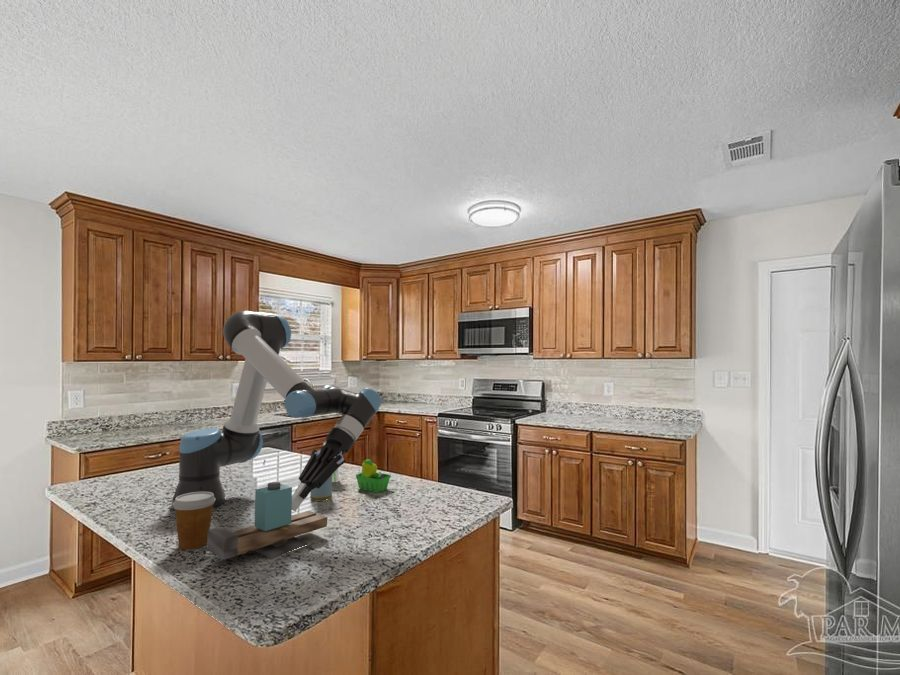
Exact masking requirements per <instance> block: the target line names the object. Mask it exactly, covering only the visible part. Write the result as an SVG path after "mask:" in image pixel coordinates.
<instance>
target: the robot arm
mask: <svg viewBox="0 0 900 675" xmlns="http://www.w3.org/2000/svg"><path fill="white" fill-rule="evenodd" d="M222 329H223V330H222V333H223V338H224V341H225V343H226V344H227V345H228V347H229V348H230V349H231V350H232V351H233V352H234V353H235V354H236V355H242V356H243V358H244V363H243V367H242V372H241V373H240V374H241V375H240V378H239V381H238V382H239V383H238V387H237V391H236V394H235V399H234V402H233V406H232V411H231V415H230V418H229V419H227V420H226V421H224V422H223V426H222V430H221V429H220V428H204V429H202V428H201V429H197V430H193V431H189V432H187V433H185V434H184V435H182V436H181V438H180V442H179V449H178V450H179V451H178V452H179V468H178V483H177V486H176V489H175V491H174V494H173V497H172V500H171V509H172V510H174V511H175V508H174V506H173V503H174V502H175V498H176V497H178V496H180V495H183V494H187V493H192V492H211V493H213V494H214V497H215V498H216V500H215V502H214V504H213V508H216V507H218V506H221V505H223V504H224V503H225V501H226V499H225V498H226V495H225V494H226V493H225V491H224V488H223V485H222V481H221V478H220V477H221V476H220V475H221V474H220V473H221V472H220V470H221V468H222V467H226V466H227V467H228V466H231V465H236V464H239V463H240V464H242V463H247V462H248V461H251V460H254V459H255V458H256V457H258V456H259V455H260V452H261V450H262V448H263V446H264V445H263V444H264V438H262V437H263V434H262V432H261V430H260V426H259V425H258V423H257V421H258V417H259V413H260V410H261V406H262V402H263V398H264V394H265V391H266V387H267V382H268V384H270V386H272V388H273V389H274V390H275V391H276V392H277V393H278V394H279V395H280V396H281V397H282V398H283V399H284V408H285V409H286V413H287V415H288V416H290V417H291V418H294V419H307V418H310V417H311V418H312V417H317V416H323V415H331V414H338V415H340V418H339V419H338V420H337V421H336V423H335V424H334V427H332V429H331V430H330V431H329V433H328V434H327V435H326V438H325V440H326V441H325V442H326V444H325V445H324V444H323V445H322V447H321V448H320V449H318V450H316V449H313V450H312V451H311V454H310V457H309V459H308V461H307V463H306V464H305V466H304V468H303V470H302V472H301V473H300V475H299V476H298V480H299V481H300V484H299V485H298V487H297V488H296V489H295V491H294V492H293V493H292V511H293V512H296V511H297V510H298V509H299V507H300V506H301V505H302V503H303V502H304V500H305V499H307V497H308V496H309V495H310V492H311V490H312V489H314V488H320V487H321V486H322V485H323V484H324V483H325V482H326V481H327V479H328V478H329V477H330V476H331V475H332V474H333V473H334V472H335V471H336V470H337V469H338V468H339V469H340V467H341V466H342V465H344V464H346V462H347V461H346V459H345V458H344V457H343V456H344V454H347V453H349V452H350V450H351V449H352V447H353V446H354V444H355V441H356V442H357V440H358V438H359V437H360V435H361V434H362V432H363V431H364V430H365V429H366V427H367V425H368V424H369V423H370V422H371V420H372V419H373V418H374V416H375V415H376V414H377V412H378V411H379V409H380V407H381V406H382V403H383V399H382V397H381V395H380V394H379V393H378V392H377V391H376V390H374V389H373V388H370V387H363V388H362V389H361V390H360V391H359V392H358V393H357V392H354V391H353V392H352V391H350V390H346V389H343V388H341V387H339V386H337V385H330V384H327V385H324V386H323V387H321V388H320V389H319V388H318V389H314V388H313V387H311V385H309V384H308V383H307V382H306V381H305V380H304V379H303V378H302V377H301V376H300V375H299V374H298V373H297V372H296V371H295V370H294V369H293V368H292V367H291V365H289V364H288V363H287V361H285V360H284V359H283V358H282V357H281V355H280V352H281V349H283V348H286V346H288V345H289V343H290V341H291V338H292V329H291V326H290V324H289V321H288V320H287V319H286V317H285V316H282V315H279V314H275V313H273V312H272V313H271V312H269V313H268V312H260V311H250V310H240V311H237V312H235V313H232V314H231V315H230V316H229V317H227V319H226V321H225V322H224V325H223V327H222Z"/></svg>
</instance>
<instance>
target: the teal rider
mask: <svg viewBox="0 0 900 675" xmlns="http://www.w3.org/2000/svg"><path fill="white" fill-rule="evenodd" d="M254 495H255V496H254V497H255V499H254V501H255V502H254V505H255V506H254V526H255V527H257V528H259V529H261V530H263V531H268V530H271V529H275V528H278V527H281V526H285V525H288V524H291V515H292V514H293V513H292V511H293V510H292V495H293V487H292V486H289V485H286V484H283V483H281V482H280V481H273V482H267V486H265V487H261V488H256V489H255V493H254Z"/></svg>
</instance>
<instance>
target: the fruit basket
mask: <svg viewBox="0 0 900 675" xmlns="http://www.w3.org/2000/svg"><path fill="white" fill-rule="evenodd" d="M361 466H362V467H361V468H362V469H361V472H360V473H357V474H355V479H356V481H357V485H358V489H359V488H360V490H364V491H368V492H373V491H374V493H379V492H382V491H383V492H384V491H385V490H387V489H388V486H389V482H390V479H391V477H392V475H391V474H389V473H388V474H386V473H381V471H379V472H377V469H378V466H377V464H376V463H374V462H372V460H371V459H370V458H367V459H365V460H363V462H362V464H361Z"/></svg>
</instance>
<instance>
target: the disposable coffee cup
mask: <svg viewBox="0 0 900 675" xmlns="http://www.w3.org/2000/svg"><path fill="white" fill-rule="evenodd" d="M215 500H216V498H215V497H214V494H213V493H211V492H192V493H187V494H183V495H180V496H178V497H176V498H175V502H174V503H173V506H174V508H175V510H174V513H175V514H174V515H175V522H176V531H177V541H178V542H177V543H178V548H179V549H180V550H195V549H199V548H202V547H204V546H207V539H208V530H209V529H211V528H210V527H211V522H212V516H213V509H214V507H213V504H214V502H215Z"/></svg>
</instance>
